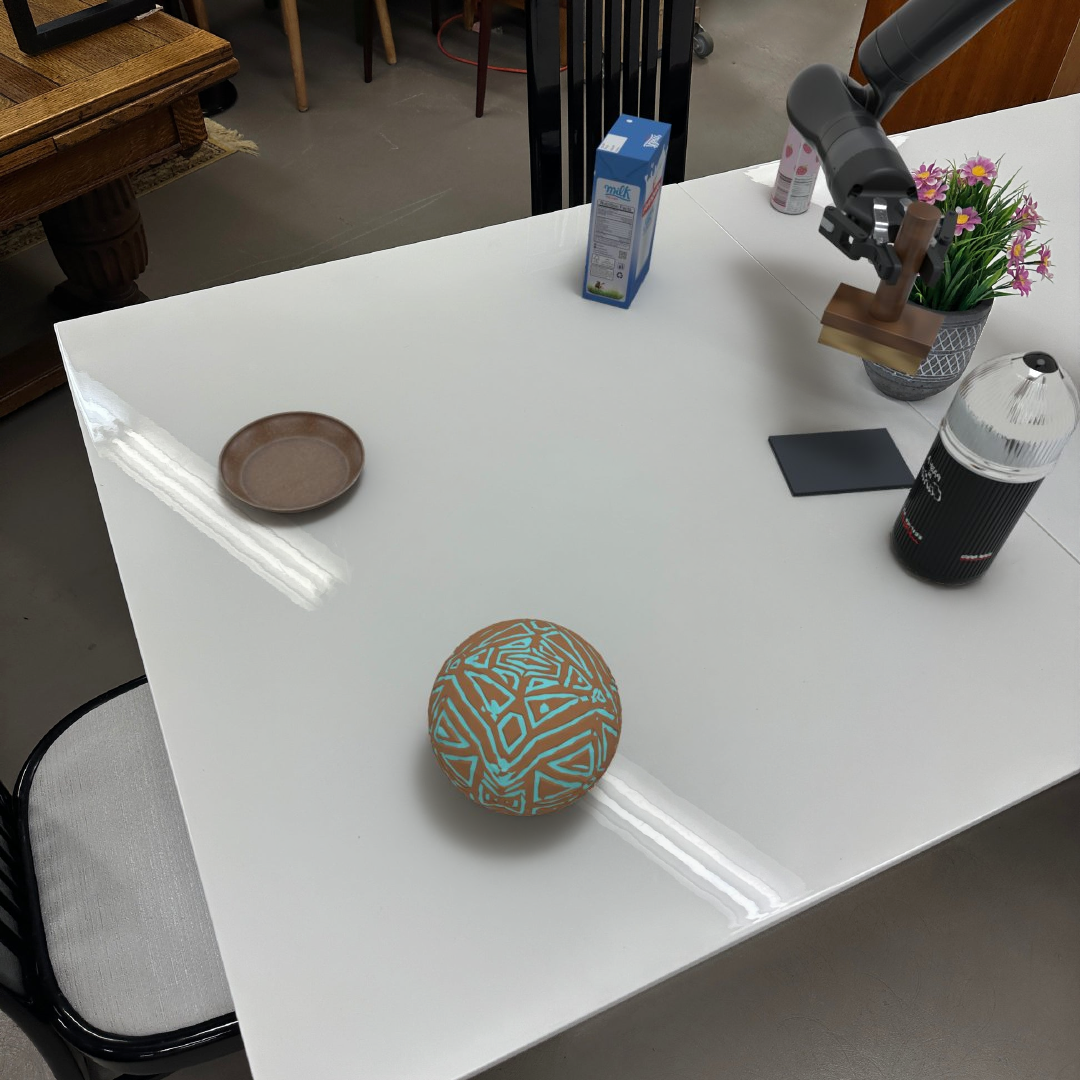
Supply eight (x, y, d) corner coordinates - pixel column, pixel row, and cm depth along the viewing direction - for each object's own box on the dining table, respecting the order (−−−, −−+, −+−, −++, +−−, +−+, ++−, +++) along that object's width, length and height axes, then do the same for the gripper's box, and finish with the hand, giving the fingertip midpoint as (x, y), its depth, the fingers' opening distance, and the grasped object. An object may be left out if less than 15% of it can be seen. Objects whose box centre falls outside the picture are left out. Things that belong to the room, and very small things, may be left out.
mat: (884, 431, 110) (886, 427, 110) (916, 487, 104) (917, 483, 104) (767, 439, 108) (768, 435, 108) (793, 497, 103) (794, 493, 102)
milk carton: (627, 309, 124) (648, 160, 109) (582, 298, 125) (596, 149, 110) (649, 269, 130) (671, 123, 115) (605, 259, 131) (622, 113, 116)
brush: (930, 349, 97) (990, 214, 86) (917, 379, 94) (977, 243, 83) (829, 314, 100) (875, 180, 89) (813, 343, 97) (858, 206, 86)
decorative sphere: (407, 824, 76) (395, 726, 65) (460, 670, 86) (457, 562, 75) (592, 869, 75) (613, 776, 63) (625, 707, 84) (647, 602, 73)
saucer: (354, 419, 107) (352, 400, 105) (378, 513, 98) (376, 494, 96) (217, 440, 104) (212, 421, 102) (229, 540, 95) (224, 521, 93)
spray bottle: (910, 596, 94) (1017, 399, 76) (870, 519, 101) (959, 321, 82) (1006, 586, 96) (1135, 391, 77) (961, 511, 102) (1069, 315, 84)
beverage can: (809, 198, 145) (837, 98, 133) (807, 217, 141) (836, 116, 130) (771, 192, 145) (795, 92, 134) (768, 211, 142) (793, 110, 130)
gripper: (810, 143, 96) (851, 238, 84) (947, 148, 97) (1007, 244, 85) (791, 212, 101) (827, 310, 90) (921, 216, 102) (974, 314, 91)
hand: (914, 277), depth 88 cm, fingers closed on brush, 3 cm apart
